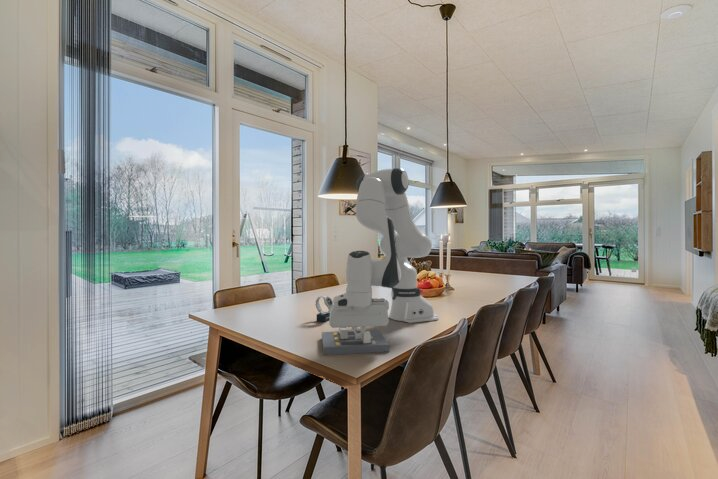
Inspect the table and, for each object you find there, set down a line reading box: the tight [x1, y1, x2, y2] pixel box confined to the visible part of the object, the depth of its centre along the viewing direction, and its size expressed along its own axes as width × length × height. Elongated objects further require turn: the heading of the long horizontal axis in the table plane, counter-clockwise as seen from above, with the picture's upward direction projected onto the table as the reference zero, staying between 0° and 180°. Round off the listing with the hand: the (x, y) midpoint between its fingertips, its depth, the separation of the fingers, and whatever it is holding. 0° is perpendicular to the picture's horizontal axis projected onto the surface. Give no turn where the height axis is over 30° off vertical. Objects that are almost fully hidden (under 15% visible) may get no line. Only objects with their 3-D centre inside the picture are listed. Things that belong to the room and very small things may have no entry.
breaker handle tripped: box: [362, 332, 371, 343], centre depth 122 cm, size 2×3×3 cm
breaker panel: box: [321, 329, 390, 356], centre depth 127 cm, size 22×17×3 cm
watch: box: [315, 295, 333, 324], centre depth 159 cm, size 6×8×11 cm
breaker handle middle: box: [340, 327, 349, 339], centre depth 126 cm, size 2×3×3 cm
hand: (358, 339), depth 122 cm, fingers closed
